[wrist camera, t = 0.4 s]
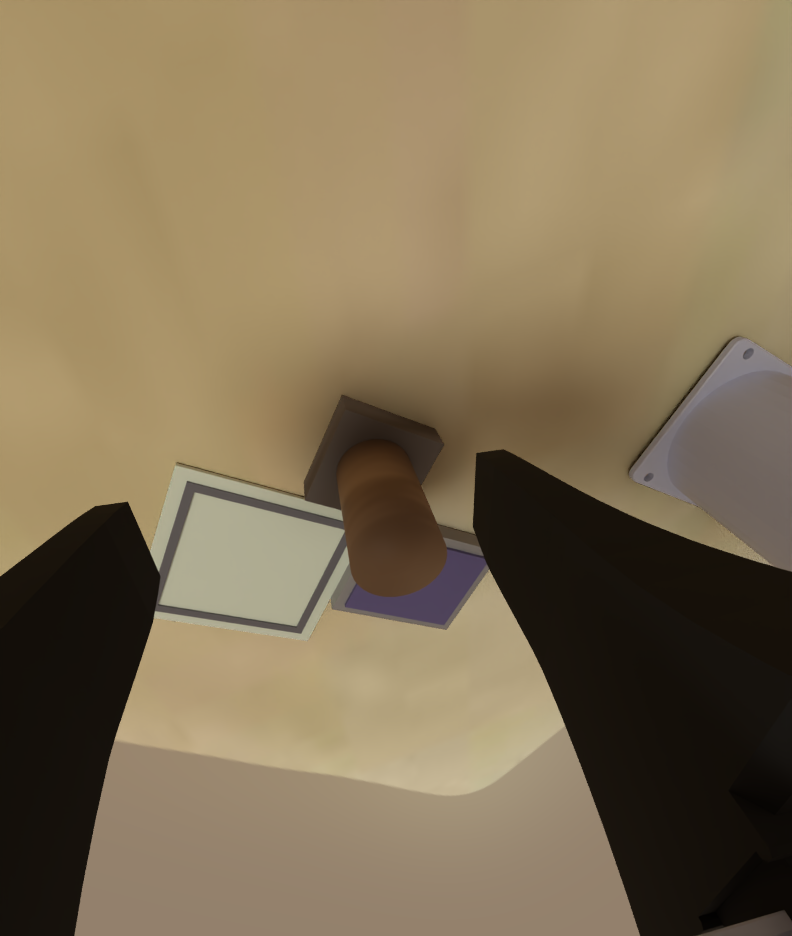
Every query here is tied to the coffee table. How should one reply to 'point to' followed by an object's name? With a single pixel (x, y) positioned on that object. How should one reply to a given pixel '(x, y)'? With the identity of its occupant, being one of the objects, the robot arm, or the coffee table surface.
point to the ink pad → (432, 601)
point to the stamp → (380, 496)
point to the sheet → (245, 556)
